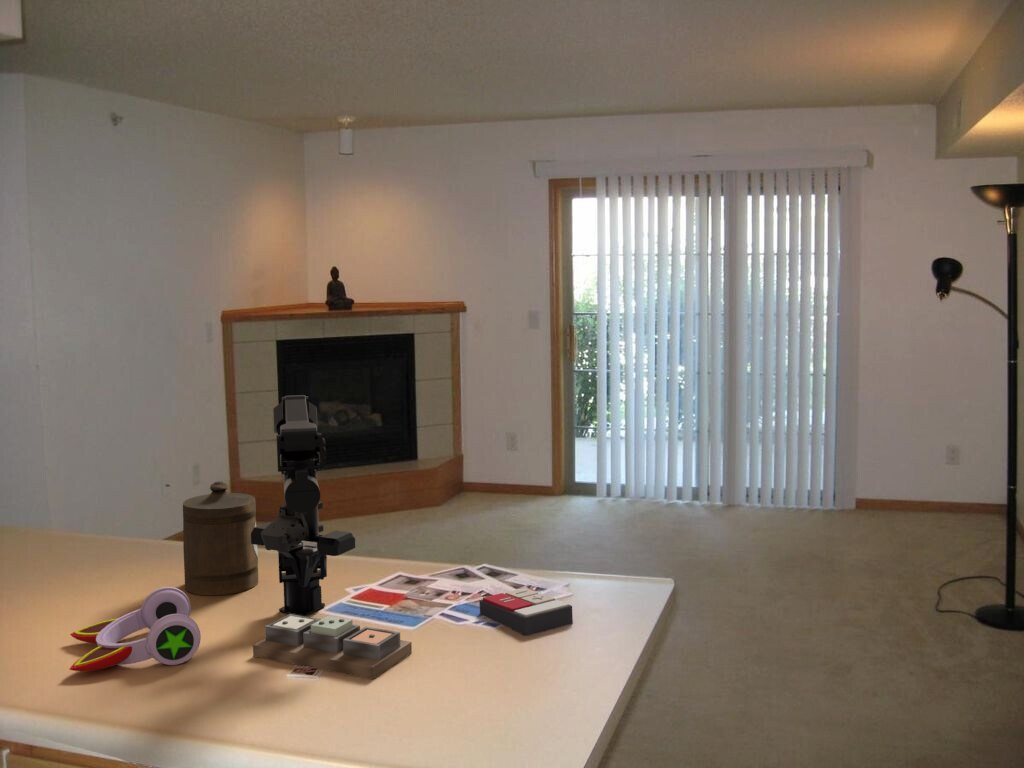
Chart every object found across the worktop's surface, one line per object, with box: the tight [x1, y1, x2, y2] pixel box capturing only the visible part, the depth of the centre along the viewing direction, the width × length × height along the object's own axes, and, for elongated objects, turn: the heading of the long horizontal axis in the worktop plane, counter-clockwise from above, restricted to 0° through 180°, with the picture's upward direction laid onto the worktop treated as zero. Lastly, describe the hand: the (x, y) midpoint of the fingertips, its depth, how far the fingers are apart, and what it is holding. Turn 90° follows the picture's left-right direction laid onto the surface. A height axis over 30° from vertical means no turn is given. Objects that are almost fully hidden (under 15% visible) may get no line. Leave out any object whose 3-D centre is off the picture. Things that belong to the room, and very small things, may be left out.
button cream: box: [273, 616, 314, 630], centre depth 173 cm, size 5×5×2 cm
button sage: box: [311, 615, 354, 637], centre depth 169 cm, size 5×5×2 cm
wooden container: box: [182, 480, 259, 597], centre depth 208 cm, size 15×15×22 cm
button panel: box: [252, 613, 413, 680], centre depth 169 cm, size 24×12×4 cm, turn 65°
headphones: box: [68, 586, 202, 672], centre depth 172 cm, size 20×10×20 cm
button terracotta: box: [351, 630, 393, 644], centre depth 166 cm, size 5×5×2 cm
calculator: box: [479, 587, 574, 637], centre depth 187 cm, size 11×4×15 cm
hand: (303, 586), depth 175 cm, fingers closed
